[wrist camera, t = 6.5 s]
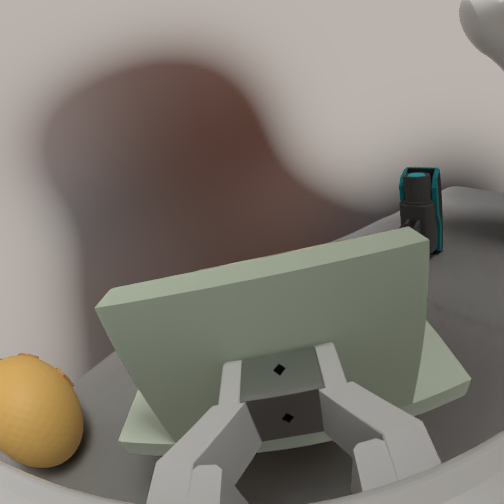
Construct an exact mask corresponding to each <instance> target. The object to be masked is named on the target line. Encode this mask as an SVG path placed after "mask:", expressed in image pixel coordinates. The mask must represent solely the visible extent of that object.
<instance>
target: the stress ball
mask: <svg viewBox="0 0 504 504" xmlns="http://www.w3.org/2000/svg"><path fill="white" fill-rule="evenodd" d="M73 386H74V385H73V383H72V382H71V380H70V379H69V378H68V377H67V376H66V375H65V374H64V373H63V372H62V371H61V370H60V369H59V368H56V369H55V368H54V367H52V366H51V365H49V364H48V363H46V362H44V361H42V360H40V359H39V357H37V356H34V355H30V354H22V353H21V354H18V356H11V357H7V358H4V359H0V450H1V451H2V452H4V453H5V454H6V455H7V456H9V457H10V458H12V459H13V460H15V461H17V462H19V463H21V464H23V465H27V466H30V467H35V468H49V467H54V466H57V465H60V464H62V463H63V462H65V461H67V460H68V459H69V458H70V457H71V456H72V455H73V454H74V453H75V451H76V450H77V448H78V446H79V444H80V442H81V439H82V434H83V425H84V423H83V413H82V408H81V405H80V402H79V400H78V397H77V395H76V393H75V391H74V389H73V388H72V387H73Z"/></svg>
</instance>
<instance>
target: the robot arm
mask: <svg viewBox="0 0 504 504" xmlns="http://www.w3.org/2000/svg"><path fill="white" fill-rule="evenodd" d="M459 15H460V22H461V25H462V27H463V30H464V32H465V34H466V36H467V37H468V39H469V40H470V41H471V43H472V44H473V45H474V46H475V47H476V48H477V49H478V50H479V51H480V52H482V53H483V54H485V55H487V56H488V57H489V58H491V59H492V60H493V61H494V62H495V63H497V64H498V65H499V66H500V67H501V68H502V70H503V71H504V0H462V2H461V5H460V10H459ZM322 431H324V433H325V434H326V435H328V436H329V437H330V438H331V439H332V440H333V441H334V442H335V443H336V444H337V445H338V446H340V447H341V448H342V449H343V450H344V451H345V452H346V453H347V454H348V455H350V456H351V457H352V458H353V464H352V478H351V493H352V495H348V496H343V497H339V498H334V499H329V500H324V501H319V502H313V503H307V504H504V430H503V431H501V432H500V433H498V434H496V435H495V436H493V437H491V438H490V439H488V440H486V441H484V442H483V443H481V444H479V445H477V446H476V447H474V448H472V449H470V450H468V451H466V452H464V453H462V454H460V455H458V456H456V457H454V458H452V459H450V460H448V461H446V462H444V463H441V461H440V459H439V457H438V454H437V452H436V450H435V448H434V445H433V443H432V441H431V439H430V437H429V434H428V432H427V430H426V428H425V426H424V424H423V422H422V421H421V420H419V419H417V418H416V417H414V416H412V415H410V414H408V413H406V412H405V411H403V410H401V409H399V408H398V407H396V406H394V405H392V404H391V403H389V402H387V401H385V400H384V399H382V398H380V397H378V396H377V395H375V394H373V393H372V392H370V391H368V390H366V389H365V388H363V387H361V386H360V385H358V384H356V383H355V382H353V381H352V382H348V383H347V380H346V378H345V375H344V372H343V369H342V366H341V363H340V360H339V357H338V354H337V351H336V348H335V346H334V343H332V342H329V343H325V344H321V345H317V346H314V347H311V348H306V349H302V350H297V351H292V352H287V353H282V354H276V355H270V356H264V357H257V358H250V359H243V360H238V361H230V362H225V363H224V365H223V369H222V377H221V385H220V393H219V401H218V405H216V406H212V407H211V408H210V409H209V410H208V411H207V412H206V413H205V414H204V415H203V416H202V417H201V418H200V420H199V421H198V422H197V423H196V424H195V425H194V426H193V427H192V428H191V429H190V430H189V431H188V432H187V433H186V434H185V435H184V436H183V437H182V438H181V439H180V440H179V441H178V442H177V443H176V444H175V445H174V446H173V447H172V448H171V449H170V450H169V451H168V452H167V453H165V454H164V455H163V456H162V457H161V458H160V459H159V460H158V461H157V462H156V465H155V469H154V473H153V477H152V481H151V485H150V489H149V493H148V497H147V502H146V504H249V503H248V502H247V501H246V500H245V498H244V497H243V496H242V495H241V493H240V492H239V491H238V490H237V488H236V487H235V484H236V483H237V482H238V480H239V479H240V477H241V476H242V474H243V473H244V471H245V470H246V468H247V467H248V465H249V463H250V462H251V460H252V459H253V457H254V456H255V454H256V453H257V451H258V449H259V448H260V446H261V445H262V442H263V441H269V440H275V439H281V438H287V437H292V436H299V435H305V434H311V433H317V432H322ZM0 504H136V503H130V502H125V501H120V500H115V499H110V498H105V497H101V496H97V495H93V494H89V493H85V492H82V491H78V490H75V489H71V488H68V487H65V486H62V485H59V484H56V483H53V482H50V481H47V480H44V479H42V478H39V477H36V476H34V475H31V474H29V473H26V472H24V471H22V470H19V469H17V468H15V467H13V466H10V465H8V464H6V463H4V462H2V461H0Z"/></svg>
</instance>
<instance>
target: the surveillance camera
mask: <svg viewBox="0 0 504 504" xmlns="http://www.w3.org/2000/svg"><path fill="white" fill-rule="evenodd" d="M399 190H400V200H401V202H400V216H401V227H400V228H404V227H411V228H412V229H414V230H415V231H417V232H418V233H420V234H421V235H423V236H424V237H426V238H427V239H429V254H430V253H433V252H434V251H435V250H436V251H441V250H442V247H443V222H442V195H441V180H440V170H439V169H438V168H428V167H407V168H406V169H405V170H404V171H403V173H402V175H401V178H400V184H399ZM398 229H399V228H398Z"/></svg>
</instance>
